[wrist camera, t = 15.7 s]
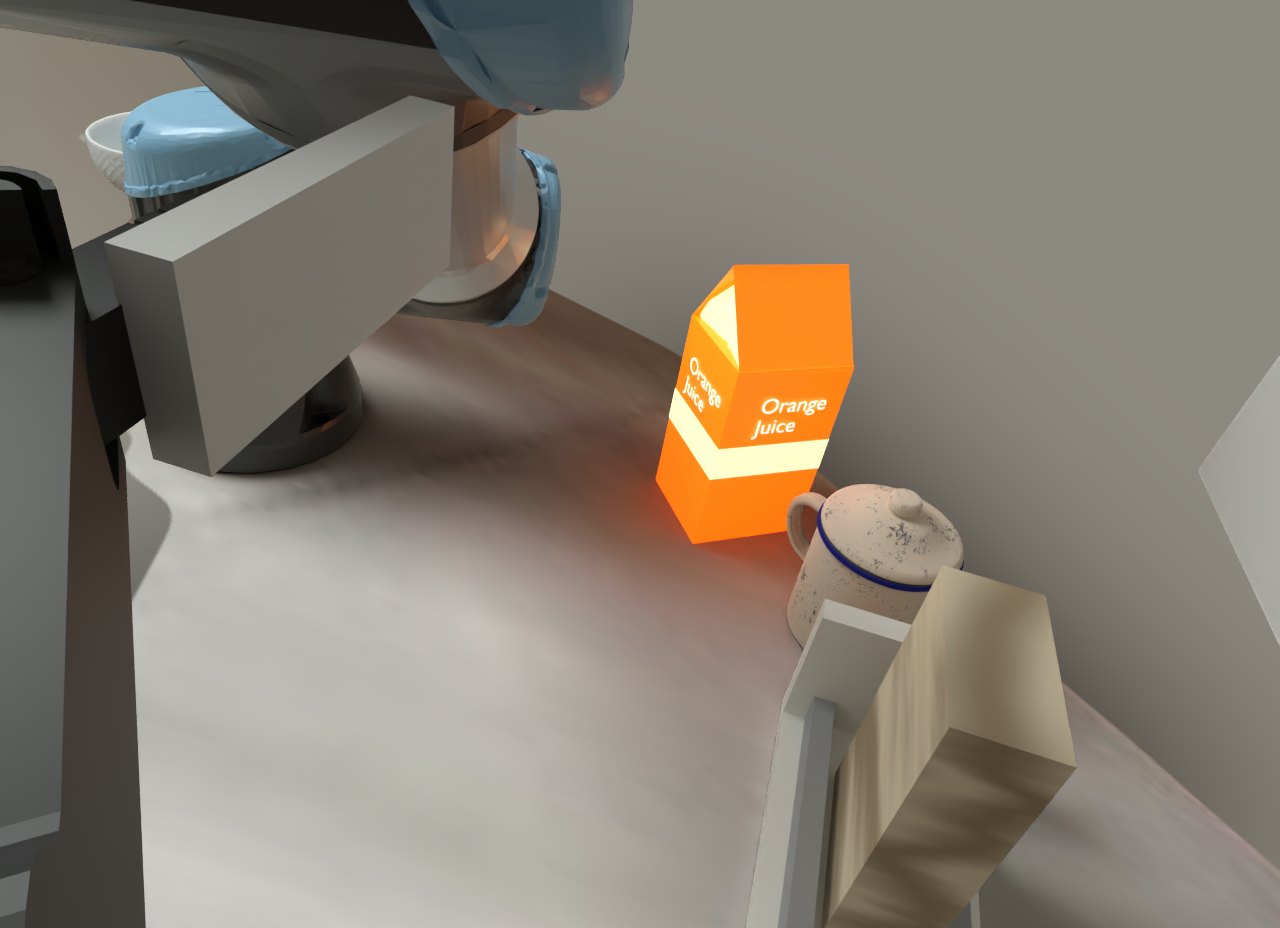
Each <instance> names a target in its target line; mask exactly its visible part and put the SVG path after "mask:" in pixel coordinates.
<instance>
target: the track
mask: <svg viewBox="0 0 1280 928" xmlns="http://www.w3.org/2000/svg"><path fill="white" fill-rule="evenodd" d="M910 627H911V625H910V624H907V623H904V622H900V621H897V620H894V619H890V618H887V617H884V616H881V615H877V614H874V613H871V612H867V611H864V610H861V609H858V608H854V607H851V606H848V605H844V604H841V603H838V602H835V601H831V600H828V599H825V600H824V602H823V604H822V607H821V609H820V612H819V614H818V616H817V619H816V621H815V624H814V626H813V628H812V631H811V633H810V636H809V638H808V640H807V643H806V645H805V648H804V650H803V652H802V655H801V657H800V660H799V662H798V664H797V667H796V669H795V672H794V674H793V676H792V679H791V681H790V684H789V686H788V688H787V691H786V693H785V696H784V698H783V700H782V704H781V710H780V716H779V723H778V729H777V735H776V741H775V747H774V754H773V760H772V766H771V772H770V779H769V785H768V791H767V797H766V804H765V810H764V816H763V822H762V829H761V835H760V841H759V847H758V853H757V860H756V866H755V872H754V878H753V885H752V891H751V897H750V903H749V910H748V916H747V922H746V928H821V923H822V912H823V901H824V890H825V878H826V867H827V856H828V844H829V833H830V822H831V811H832V799H833V788H834V777H835V773H836V771H837V769H838V767H839V765H840V763H841V761H842V759H843V757H844V755H845V753H846V751H847V749H848V747H849V746H850V744H851V742H852V740H853V738H854V736H855V734H856V732H857V730H858V728H859V726H860V724H861V722H862V720H863V718H864V716H865V715H866V713H867V711H868V709H869V707H870V705H871V703H872V701H873V699H874V697H875V695H876V693H877V691H878V689H879V687H880V685H881V684H882V682H883V680H884V678H885V676H886V674H887V672H888V670H889V668H890V666H891V664H892V662H893V660H894V658H895V656H896V654H897V653H898V651H899V649H900V647H901V645H902V643H903V641H904V639H905V637H906V635H907V633H908V631H909V629H910ZM949 928H981V923H980V908H979V892H977V893H976V894H975V895H974V897H973V898H972V899H971V900H970V902H969V903H968V904H967V905H966V907H965V908H964V909H963V910H962V912H961V913H960V914H959V915H958V917H957V918H956V919H955V920H954V922H953V923H952V924H951V925H950V927H949Z"/></svg>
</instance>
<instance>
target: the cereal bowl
mask: <svg viewBox="0 0 1280 928" xmlns="http://www.w3.org/2000/svg"><path fill="white" fill-rule="evenodd" d="M130 113H131V112H126V113H120V114H116V115H112V116H108V117H105V118H102V119H100V120H98V121H96V122H94V123H92V124H91V125H90V126H89V127H88V128H87V129H86V132H85V135H86V141H87V144H88V148H89V151H90V154H91V157H92V159H93V161H94V163H95V165H96V167H97V168H98V170H99V171H100V172H101V174H102V175H103V176H104V177H105V178H106V179H107V180H108V181H109V182H110V183H112V184H113V185H114V186H115V187H117V188H119V189H120V190H123V191H124V192H125V188H124V182H125V180H126V176H125V168H124V160H123V152H122V144H121V130H122V126H123V123H124V121H125V119H126V118H127V116H128V115H129V114H130Z"/></svg>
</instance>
